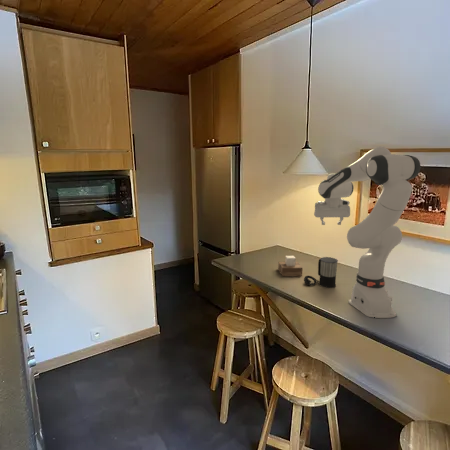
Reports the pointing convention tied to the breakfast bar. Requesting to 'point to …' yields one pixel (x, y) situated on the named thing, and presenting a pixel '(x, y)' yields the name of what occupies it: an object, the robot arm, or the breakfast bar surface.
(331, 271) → the milk frother
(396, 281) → the breakfast bar surface
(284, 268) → the walnut base
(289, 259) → the cube
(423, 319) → the breakfast bar surface
